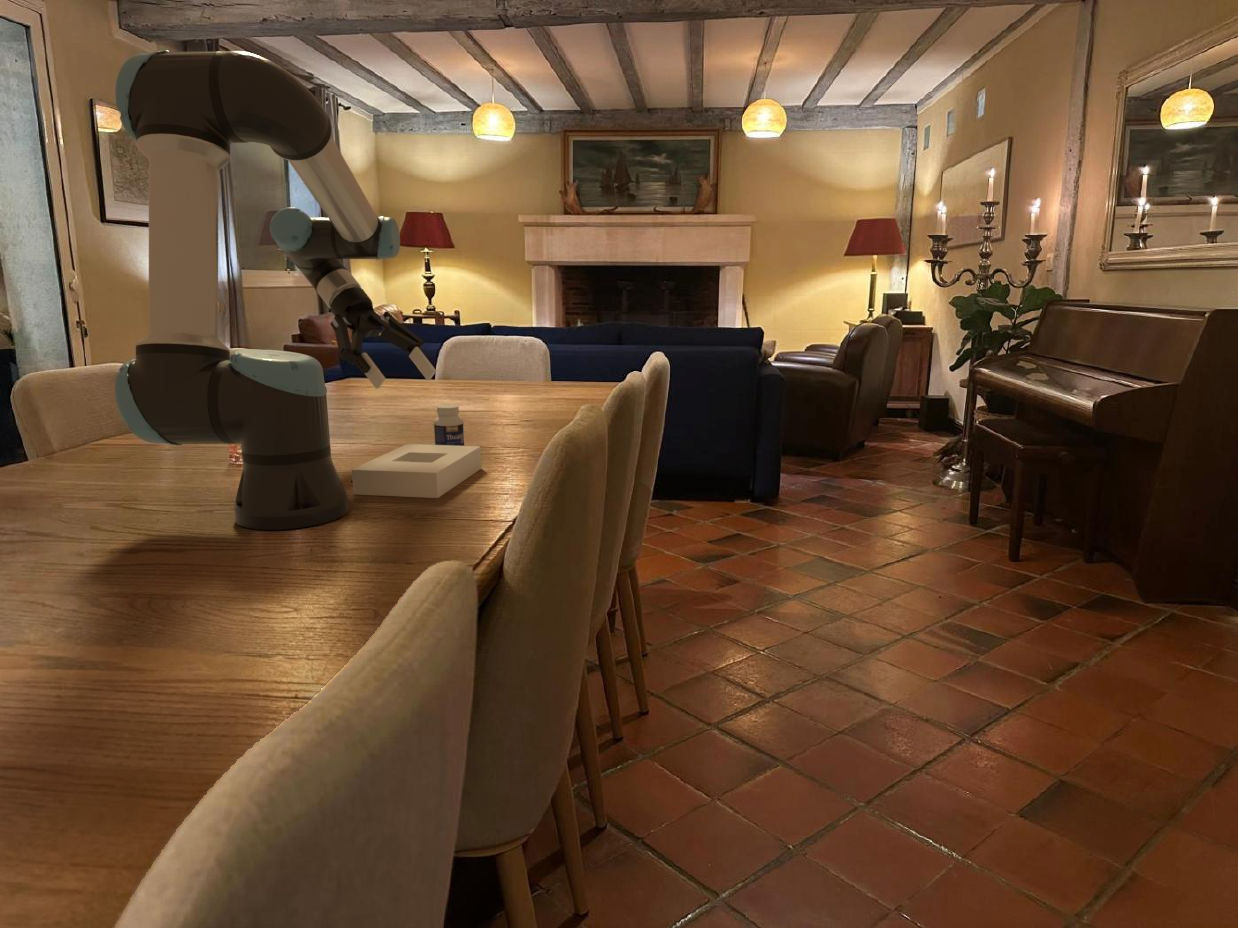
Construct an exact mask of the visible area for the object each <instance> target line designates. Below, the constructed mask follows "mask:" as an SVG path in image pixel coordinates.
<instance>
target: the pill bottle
mask: <svg viewBox="0 0 1238 928" xmlns="http://www.w3.org/2000/svg"><path fill="white" fill-rule="evenodd" d="M459 408H460V407H459V405H457V404H442V405H437V406H436V413H437V415H438V417H436V418H435V419H434V420H433V430H434V445H452V446H465V434H464V433H465V431H464V420H463V418H462V417H461V416H459V414H460V413H459V412H460V409H459Z"/></svg>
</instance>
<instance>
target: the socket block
mask: <svg viewBox="0 0 1238 928" xmlns="http://www.w3.org/2000/svg"><path fill="white" fill-rule="evenodd" d="M482 466H483V465H482V449H481V446H479V445H477V446H476V445H464V446H452V445H435V444H420V443H419V444H417V443H405V444H403V445H401V446H399V447H397V448H395V449H392V450H391V451H388V452H386V453H384V454H381V455H380V456H378V457H375V458H374V459H372V460H369V461H367V462H365V463H363V464H361V465H358V466H356V467H354V468H352V469H351V477H352V478H351V479H352V489H353V495H357V496H358V495H359V496H360V495H361V496H378V497H379V496H380V497H381V496H384V497H406V498H407V497H408V498H426V499H439V498H440V497H442V496H444V495H445V494H446V493H447V492H449V491H451V490H452V489H454V488H455V487H457V486H459V485H460V484H461V483H462V482H464V481H465V480H466V479H468V478H469V477H471V476H472V475H474V474H476V473H478V471H480V470H482V469H483V468H482Z"/></svg>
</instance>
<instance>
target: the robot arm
mask: <svg viewBox="0 0 1238 928" xmlns="http://www.w3.org/2000/svg"><path fill="white" fill-rule="evenodd" d="M114 88H115V89H114V90H115V92H114V93H115V94H114V96H115V104H116V105H115V106H116V110H117V111H118V112H120V116H119V120H120V122H121V124H122V127H123V128H124V129H125V131H126V133H127V134H128V135H129V136H130V137H131V138H132V139H133V140H135V141H136V142H135V144H136V148H137V149H138V151H139V152H141V154H142V155H143V156H144V157H145V158H147V160H148V328H147V329H148V330H147V331H148V332H147V334H146V335H145V336H143V337H142V338H141V339H140V340H138V341H137V342H136V343H135V358H134V359H131V360H129V361H126V362H125V363H123V364H122V365H120V367H119V372H117V373H116V375H115V379H114V399H115V403H116V407H117V411H118V413H119V416H120V418H121V419H122V421H123V423H124V425H126V426H127V428H128V430H129V431H130V432H131V433H132V434H133V435H134V436H135V437H137V438H138V439H140V440H141V441H143V442H146V443H150V444H163V445H165V444H168V445H170V446H182V445H231V444H232V445H234V444H235V445H240V449H241V455H242V456H241V457H242V472H241V474H240V475H241V476H240V479H239V484H238V486H237V487H238V488H237V492H236V495H235V496H236V497H235V501H234V507H233V509H234V518H235V519H234V520H235V523H236V524H237V525H238V526H240V527H242V528H246V529H251V530H252V529H253V530H260V531H275V530H276V531H277V530H281V531H282V530H293V529H300V528H307V527H312V526H313V527H314V526H318V525H322V524H325V523H329V522H332V521H335V520H337V519H339V518H342V517H343V516H345V515H346V514H347V513H348V512H349V497H348V493H347V492H346V489H345V486H344V484H343V483H342V480H341V478H340V475H339V473H338V471H337V469H336V467H335V464H334V462H333V458H332V449H331V438H330V437H331V436H330V435H331V434H330V425H329V424H330V423H329V422H330V421H329V414H328V413H329V412H328V400H327V393H328V389H327V388H328V387H327V386H326V382H325V377H324V369H323V366H322V365H321V363H320V361H318V360H317V359H316V358H315V357H313V356H311V355H307V354H303V353H300V352H294V351H293V352H292V351H287V350H278V349H277V350H276V349H258V348H257V349H256V348H255V349H254V348H253V349H252V348H249V349H247V348H246V349H239V350H238V349H237V350H233V352H231V349H230V348H229V347H228V346H227V345H225V343H223V342H222V340H221V339H220V338H219V171H220V170H221V169H223V168H224V167H226V166H227V165H228V164H230V161H231V145H232V144H237V143H241V144H243V143H259V144H263V145H267V146H269V147H270V148H271V150H272V151H273V152H274V154H276V155H277V156H278V157H280V158H281V159H283V160H286V161H288V163H290V165H291V167H292V168H293V169H294V171H295V172H296V174H297V175H298V177H299V178H300V179H301V181H302V182H303V184H304V186H306V188H307V189H308V191H309V192H310V194H311V195H312V197H313V198H314V200H315V201H316V202H317V204H318V206H319V207H320V208H321V210H322V212H323V213H324V214H325V216H326V217H310V216H309V215H308V213H305V211H304V210H302V209H299V208H297V207H294V206H289V207H285V208H284V207H283V208H281V209H280V210H278V211H277V212H276V213H275V214H274V215H273V216H272V218H271V220H270V222H269V232H270V233H269V234H270V236H271V237H272V238H273V240H274V242H275V243H276V245H277V247H278V248H279V249H280V250H281V251H282V252H283V253H284V254H285V255H286V257H288V258H289V259H290V260H291V262H292V263H293V264H294V266H295V267H296V268H297V269H298V270H299V272H301V273H302V275H303V276H304V277H305V279H306V280H307V281H308V282H309V284H310V285H311V286H312V287H313V289H314V290H315V292H316V293H317V294H318V295H319V297H320V298H321V299H322V301H323V302H324V304H325V305H326V306H327V307H328V308H329V309H330V311H331V313H332V315H333V319H332V320H331V321H330V326H331V328H332V330H333V331H334V334H335V339H336V343H337V349H338V354H339V359H341V360H342V361H346V360H347V363H348V364H349V365H351V366H353V365H354V364H355V366H356V367H357V368H358V369H359V370H360V372H361V373H362V374H364V375H365V377H366V378H367V379H368V380H369V381H370V383H371V384H372V386H373V387H374V388H375V390H377V389H380V387H382V385H383V383H384V382H385V380H387V379H386V376H384V374H383V373H382V372H381V370H380V368H378V365H376V364H375V362H374V361H373V359H372V358H371V357H370V356H369V355H368V353H367V352H363V351H362V349H363V342H364V339H366V338H369V337H371V338H377V339H379V340H385V341H387V342H389V343H391V344H393V345H394V346H395V347H397V348H399V349H401V350H403V351H405V352H407V353H408V354H409V355H408V357H409V359H410V360H411V361H412V362H413V364H414V365H415V366H416V368H417V369H418V371H419V372H420V373H421V374H422V375H423V377H424V378H425V380H426V381H431V379H432V378H433V376H434V375H436V372H437V370H436V369H435V367H434V365H433V364H432V363H431V362H430V361H429V358H428V357H427V356H426V354H425V352H424V351H423V350H422V347H423V346H424V345H425V341H424V340H423V339H421V337H419V336H418V335H417V334H415V333H414V332H412V331H411V330H410V329H409V328H407V327H406V326H405V325H403V324H402V323H401V322H400V321H398V320H397V319H395V317H394V316H393V315H392V313H390V312H389V311H384V313H383V314H380V315H379V313H377V312H376V311H375V310H374V306H373V304H374V303H373V300H372V299H371V298H370V297H369V295H368V294H367V292H365V290H364V289H363V288H362V286H361V284H360V283H359V282H358V281H357V279H356V278H355V277H354V276H353V274H352V273H351V272H350V270H349V269H348V268H347V267H346V266H345V264H344V263H343V262H342V261H341V260H378V261H379V260H383V259H385V260H386V259H393V258H396V257H397V256H398V254H399V253H400V249H401V248H400V247H401V236H400V230H399V225H398V222H397V221H396V220H395V218H393V217H391V216H389V217H388V216H383V215H380V216H378V215H377V214H376V212H375V211H374V209H373V207H372V205H371V203H370V201H369V200H368V199H367V197H366V195H365V193H364V191H363V189H362V188H361V186H360V183H359V182H358V180H357V179H356V177H355V175H354V173H353V171H351V168H350V167H349V165H348V163H347V161H346V160H345V158H344V156H343V155H342V153H341V150H339V147H338V146H337V144H336V142H335V140H334V138H333V126H332V122H331V119H330V118H329V115H328V114H327V112H326V111H325V109H324V107H323V106H322V105H323V104H321V103H320V101H319V100H318V99H317V97H315V95H314V94H313V93H312V92H311V91H310V90H309V89H308V88H307V87H306V86H305V85H304V84H303V83H302V82H301V81H300V80H299V79H297V78H296V77H295V76H294V75H293V74H291V73H290V72H289V71H287V70H285V68H283V67H281V66H280V65H278V64H276V63H275V62H273V61H271V60H270V59H267V58H265V57H263V56H260V55H257V54H255V53H251V52H249V51H242V50H227V51H170V50H156V51H153V52H141V53H137V54H134V55H132V56H130V57H129V58H127V59H126V60H125V61H124V62H123V64H122V65H121V67H120V69H119V71H118V73H117V77H116V81H115V87H114ZM382 328H383V329H382ZM348 329H349V330H350V331H351V334H350V335H351V336H350V335H349V330H348ZM350 339H351V340H350Z"/></svg>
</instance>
